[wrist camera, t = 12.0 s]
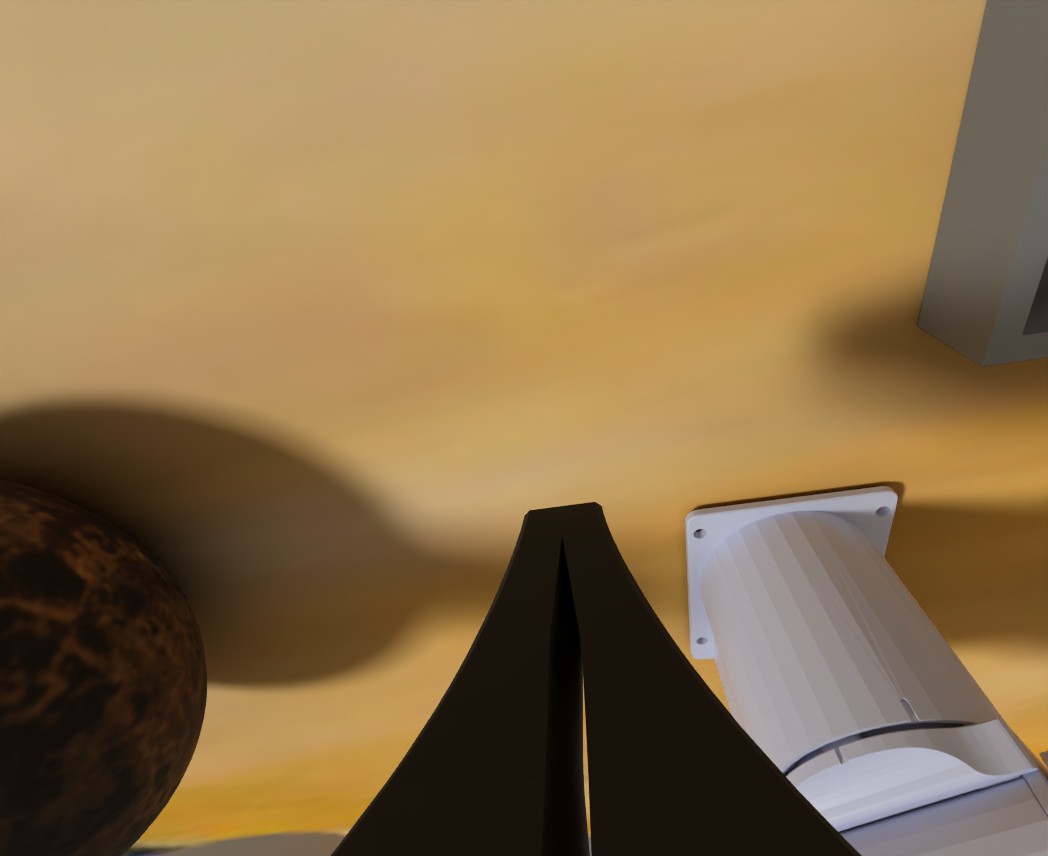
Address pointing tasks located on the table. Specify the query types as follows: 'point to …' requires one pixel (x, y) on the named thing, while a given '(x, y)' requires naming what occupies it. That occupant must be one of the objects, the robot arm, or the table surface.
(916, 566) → the table surface
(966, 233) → the rack
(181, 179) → the table surface
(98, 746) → the dark brown vase
